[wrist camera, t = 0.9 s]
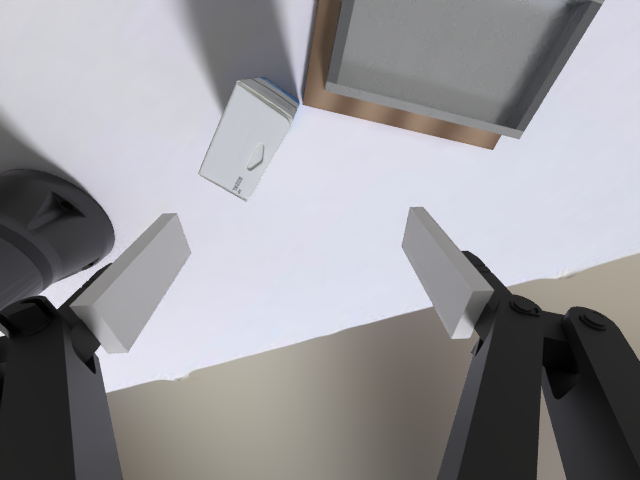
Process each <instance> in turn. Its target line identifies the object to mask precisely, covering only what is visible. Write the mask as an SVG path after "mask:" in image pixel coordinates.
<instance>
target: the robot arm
mask: <svg viewBox="0 0 640 480" xmlns="http://www.w3.org/2000/svg"><path fill="white" fill-rule="evenodd" d="M114 240H115V236H114V230H113V227H112V225H111V222H110V220H109V219H108V217H107V215H106V214H105V213H104V211H103V210H102V209H101V208H100V206H99V205H98V204H97V203H96V202H95V201H94V200H93V199H92V198H90V197H89V196H88V195H87V194H86V193H84V192H83V191H82V190H80V189H79V188H77V187H76V186H74V185H72V184H70V183H69V182H67V181H65V180H63V179H61V178H58V177H56V176H53V175H50V174H47V173H44V172H40V171H35V170H27V169H17V170H11V171H7V172H4V173H1V174H0V331H1V332H2V333H3V334H5V336H1V337H0V480H123V477H122V472H121V467H120V462H119V457H118V452H117V447H116V442H115V437H114V432H113V428H112V422H111V417H110V412H109V407H108V402H107V397H106V393H105V388H104V383H103V378H102V373H101V368H100V363H99V358H98V357H97V355H96V354H95V351H96V350H97V349H98V347H99V346H100V345H102V347H103V348H104V349H105V350H106V352H107V353H128V352H129V350H130V348H131V347H132V345H133V344H134V342H135V341H136V339H137V337H138V336H139V334H140V333H141V331H142V330H143V328H144V326H145V325H146V323H147V322H148V320H149V319H150V317H151V315H152V314H153V312H154V311H155V309H156V308H157V306H158V304H159V303H160V301H161V300H162V298H163V297H164V295H165V294H166V292H167V290H168V289H169V287H170V286H171V284H172V283H173V281H174V279H175V278H176V276H177V275H178V273H179V272H180V270H181V268H182V267H183V265H184V264H185V262H186V261H187V259H188V257H189V256H190V254H191V251H190V248H189V245H188V243H187V240H186V237H185V234H184V232H183V229H182V226H181V223H180V221H179V218H178V215H177V213H170V214H162V215H161V216H160V217H159V218H158V219H157V220H156V221H155V222H154V223H153V224H152V225H151V226H150V227H149V228H148V229H147V230H146V231H145V232H144V233H143V234H142V235H141V236H140V237H139V238H138V239H137V240H136V241H135V242H134V243H133V244H132V245H131V246H130V247H129V248H128V249H127V250H126V251H125V252H124V253H122V254H121V255H120V256H119V257H118V258H117V259H116V260H115V261H114V262H113V263H110V264H108V265H106V266H105V267H103V268H101V269H100V270H98V271H97V272H96V273H95V274H94V275H93V276H92V277H91V278H90V279H89V281H87V282H86V283H85V284H83V285H82V288H79V289H78V290H77V291H76V292H75V293H74V294H73V295H72V296H71V297H70V298H69V299H68V300H67V301H66V302H65V303H64V304H62V305H61V306H60V307H59V308H58V309H56V308H55V307H54V306H53V305H52V303H51V302H50V301H49V300H48V299H47V298H46V297H45V296H37V295H39V294H40V293H41V292H42V291H43V290H45V289H46V288H47V287H49V286H50V285H51V284H53V283H55V282H57V281H60V280H62V279H65V278H67V277H69V276H72V275H74V274H76V273H78V272H80V271H82V270H86V269H88V268H90V267H93V266H94V265H96V264H97V263H99V262H100V261H101V260H102V259H103V258H104V257H106V256H107V255H108V254H109V253H110V251H111V250H112V248H113V246H114ZM402 248H403V250H404V252H405V254H406V256H407V258H408V259H409V261H410V263H411V265H412V267H413V269H414V271H415V272H416V274H417V276H418V278H419V280H420V282H421V284H422V285H423V287H424V289H425V291H426V293H427V295H428V297H429V298H430V300H431V302H432V304H433V306H434V308H435V309H436V311H437V313H438V315H439V317H440V319H441V321H442V323H443V324H444V326H445V328H446V330H447V332H448V334H449V335H450V337H451V339H458V338H470V336H471V334H472V332H473V330H474V329H475V330H476V332H477V333H478V335H479V336H480V337H479V339H478V341H477V343H476V345H475V347H474V348H473V350H472V352H471V353H472V354H473V357H472V361H471V364H470V368H469V371H468V374H467V378H466V381H465V385H464V388H463V391H462V395H461V399H460V402H459V405H458V409H457V412H456V415H455V419H454V422H453V426H452V429H451V433H450V436H449V439H448V443H447V446H446V450H445V453H444V456H443V460H442V463H441V467H440V470H439V474H438V477H437V480H537V459H538V439H539V417H540V399H541V386H542V389H543V394H544V397H545V401H546V405H547V408H548V412H549V416H550V419H551V423H552V427H553V431H554V434H555V438H556V442H557V445H558V449H559V452H560V456H561V460H562V463H563V468H564V471H565V475H566V479H567V480H640V361H639V360H638V358H637V357H636V355H635V353H634V351H633V350H632V348H631V347H630V345H629V344H628V342H627V340H626V339H625V337H624V336H623V334H622V332H621V331H620V329H619V328H618V327H617V326H616V325H615V323H614V322H613V321H611V320H610V319H609V318H607V317H606V316H604V315H602V314H601V313H599V312H597V311H594V310H591V309H588V308H585V307H571V308H570V309H569V310H568V311H567V313H566V314H565V315H561V314H556V313H551V312H546V311H542V310H541V308H540V307H539V306H538V305H537V304H535V303H534V302H533V301H531V300H529V299H527V298H525V297H522V296H518V295H512V294H511V293H510V291H509V290H508V289H507V288H506V287H505V286H504V285H503V284H502V283H501V282H500V280H499V279H498V278H497V277H496V276H495V275H494V274H493V273H491V271H490V270H489V269H488V267H487V266H485V264H484V263H483V262H482V261H481V260H480V259H479V258H478V257H477V256H475V255H474V254H472V253H471V252H469V251H460V250H459V248H458V247H457V246H456V245H455V244H454V243H453V241H452V240H451V239H450V238H449V237H448V235H447V234H446V233H445V232H444V231H443V230H442V228H441V227H440V226H439V225H438V224H437V223H436V221H435V220H434V219H433V218H432V217H431V216H430V214H429V213H428V212H427V211H426V210H425V209H424V207H410V209H409V214H408V218H407V223H406V228H405V233H404V237H403V242H402Z"/></svg>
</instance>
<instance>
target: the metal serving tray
mask: <svg viewBox="0 0 640 480" xmlns="http://www.w3.org/2000/svg"><path fill="white" fill-rule="evenodd" d="M604 1H605V0H341V2H340V8H339V13H338V18H337V23H336V28H335V34H334V39H333V44H332V49H331V54H330V60H329V65H328V70H327V75H326V81H325V86H324V90H325V91H327V92H332V93H336V94H340V95H344V96H348V97H352V98H356V99H360V100H364V101H368V102H372V103H376V104H380V105H384V106H388V107H392V108H396V109H400V110H404V111H408V112H412V113H416V114H420V115H424V116H428V117H432V118H436V119H440V120H444V121H448V122H452V123H456V124H460V125H464V126H468V127H472V128H476V129H480V130H485V131H489V132H493V133H497V134H501V135H505V136H509V137H513V138H517V139H520V137H521V135H522V134H523V132H524V131H525V129H526V127H527V126H528V124H529V122H530V121H531V119H532V118H533V116H534V114H535V113H536V111H537V109H538V108H539V106H540V105H541V103H542V101H543V100H544V98H545V96H546V95H547V93H548V92H549V90H550V88H551V87H552V85H553V83H554V82H555V80H556V79H557V77H558V75H559V74H560V72H561V70H562V69H563V67H564V66H565V64H566V62H567V61H568V59H569V57H570V56H571V54H572V53H573V51H574V49H575V48H576V46H577V44H578V43H579V41H580V40H581V38H582V36H583V35H584V33H585V31H586V30H587V28H588V27H589V25H590V23H591V22H592V20H593V18H594V17H595V15H596V14H597V12H598V10H599V9H600V7H601V5H602V4H603V2H604Z"/></svg>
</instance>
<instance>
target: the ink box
mask: <svg viewBox="0 0 640 480" xmlns="http://www.w3.org/2000/svg"><path fill="white" fill-rule="evenodd" d="M298 106H299V101H298V100H297V99H295V98H294V97H292V96H291V95H290V94H288V93H287V92H285V91H284V90H282V89H281V88H279V87H278V86H276V85H275V84H274V83H272V82H271V81H269V80H268V79H266V78H264V77H260V78H251V79H243V80H237V81H236V84H235V87H234V89H233V91H232V94H231V96H230V98H229V101H228V103H227V105H226V108H225V110H224V112H223V115H222V117H221V120H220V122H219V124H218V127H217V129H216V132H215V134H214V136H213V139H212V141H211V143H210V146H209V148H208V150H207V153H206V155H205V158H204V160H203V163H202V165H201V168H200V170H199V173H198V174H199V175H200V176H202V177H204V178H205V179H207V180H209V181H210V182H212V183H214V184H216V185H218V186H219V187H221V188H223V189H224V190H226V191H228V192H230V193H232V194H233V195H235V196H237V197H239V198H241V199H243V200H244V201H245V202H247V201H248V200H249V199H250V197H251V196H252V195H253V193H254V191H255V189H256V188H257V186H258V184H259V183H260V181H261V179H262V176H263V175H264V173H265V171H266V170H267V168H268V167H269V165H270V163H271V161H272V159H273V157H274V155H275V154H276V152H277V151H278V149H279V148H280V146H281V144H282V142H283V141H284V139H285V137H286V135H287V134H288V132H289V130H290V125H291V124H292V122H293V119H294V116H295V114H296V111H297V109H298Z"/></svg>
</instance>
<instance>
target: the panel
mask: <svg viewBox="0 0 640 480" xmlns="http://www.w3.org/2000/svg"><path fill="white" fill-rule="evenodd" d="M340 2H341V0H319V2H318V9H317V15H316V22H315V28H314V34H313V41H312V47H311V54H310V60H309V66H308V73H307V79H306V86H305V92H304V98H303V105H306V106H310V107H314V108H318V109H323V110H327V111H331V112H335V113H339V114H344V115H348V116H352V117H356V118H361V119H365V120H369V121H373V122H377V123H382V124H386V125H390V126H394V127H398V128H403V129H407V130H411V131H415V132H419V133H424V134H428V135H432V136H436V137H440V138H445V139H449V140H453V141H457V142H462V143H466V144H470V145H474V146H478V147H483V148H487V149H491V150H493V149H494V147H495V145H496V144H497V142H498V140H499V138H500V137H501V134H497V133H493V132H489V131H485V130H480V129H476V128H472V127H468V126H464V125H460V124H456V123H452V122H448V121H444V120H440V119H436V118H432V117H428V116H424V115H420V114H416V113H412V112H408V111H404V110H400V109H396V108H392V107H388V106H384V105H380V104H376V103H372V102H368V101H364V100H360V99H356V98H352V97H348V96H344V95H340V94H336V93H332V92H327V91H325V90H324V86H325V81H326V75H327V70H328V65H329V60H330V54H331V49H332V44H333V39H334V34H335V28H336V23H337V18H338V13H339V8H340Z"/></svg>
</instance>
